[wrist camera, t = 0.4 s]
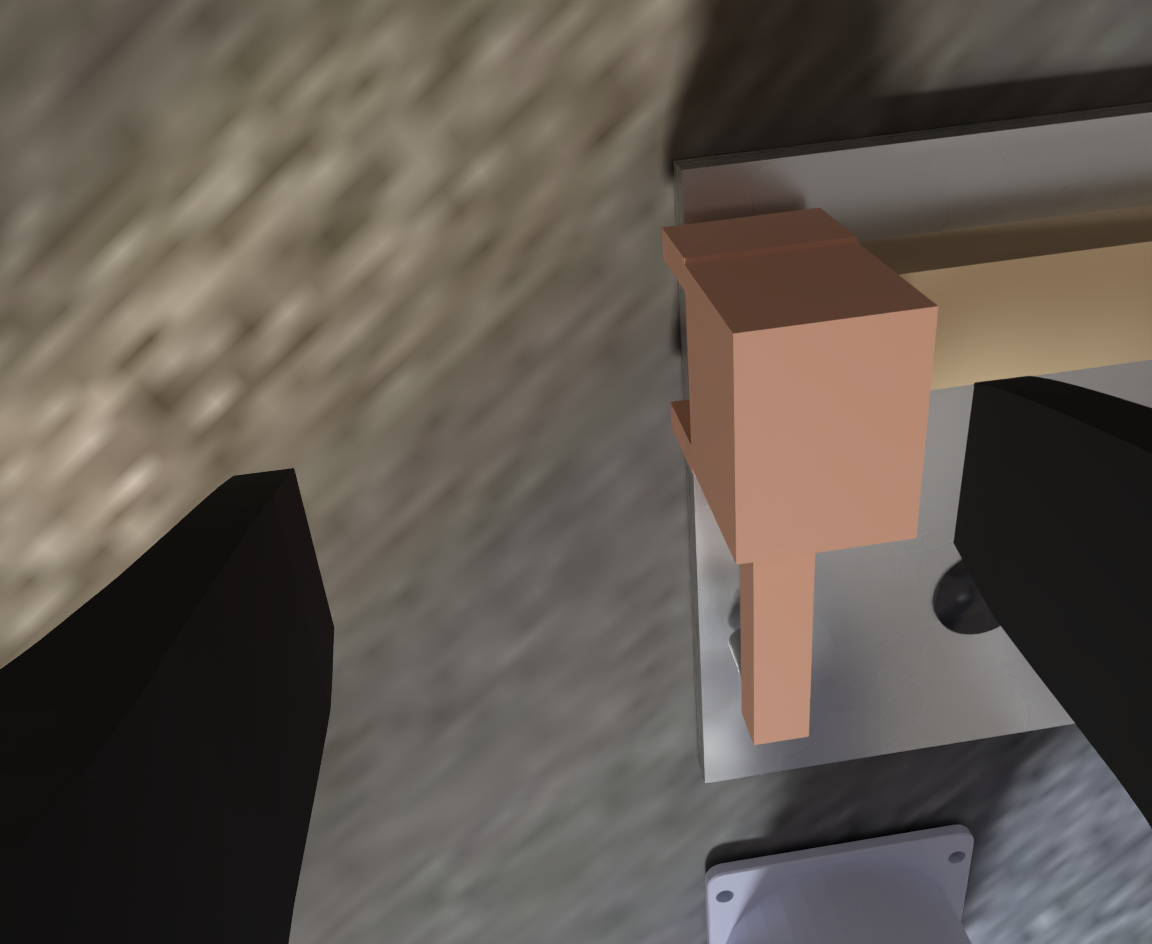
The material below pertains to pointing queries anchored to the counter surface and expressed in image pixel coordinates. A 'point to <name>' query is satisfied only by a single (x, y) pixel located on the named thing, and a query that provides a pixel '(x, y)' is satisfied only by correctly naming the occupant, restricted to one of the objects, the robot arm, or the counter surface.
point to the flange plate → (930, 561)
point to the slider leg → (797, 422)
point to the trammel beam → (1033, 293)
